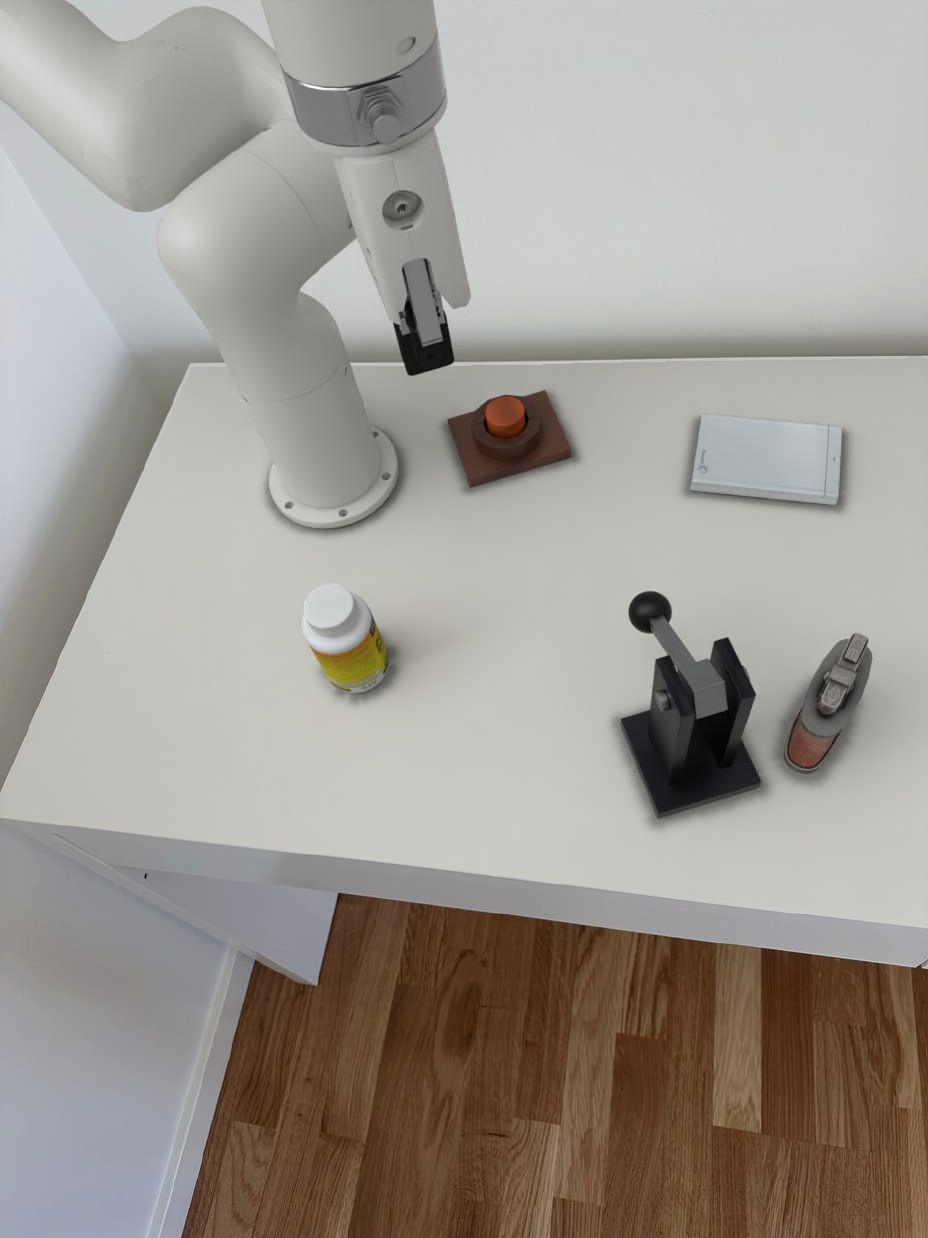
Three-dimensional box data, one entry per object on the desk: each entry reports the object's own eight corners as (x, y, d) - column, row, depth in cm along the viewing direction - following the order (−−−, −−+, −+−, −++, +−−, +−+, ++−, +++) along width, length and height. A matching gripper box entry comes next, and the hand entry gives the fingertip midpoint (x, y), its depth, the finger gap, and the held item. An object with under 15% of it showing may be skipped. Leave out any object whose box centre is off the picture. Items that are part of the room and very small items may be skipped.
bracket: (620, 725, 72) (623, 642, 60) (716, 695, 72) (738, 607, 61) (657, 819, 68) (668, 750, 56) (759, 788, 68) (792, 712, 56)
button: (493, 442, 85) (491, 430, 83) (482, 415, 87) (480, 402, 85) (530, 431, 85) (529, 419, 83) (519, 404, 87) (517, 391, 85)
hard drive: (691, 481, 81) (839, 495, 78) (701, 411, 85) (843, 422, 82) (689, 492, 82) (835, 507, 80) (699, 423, 86) (839, 435, 83)
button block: (469, 487, 86) (465, 467, 83) (448, 427, 90) (444, 405, 87) (571, 457, 86) (570, 436, 84) (545, 398, 90) (544, 376, 88)
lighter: (817, 782, 68) (848, 729, 59) (773, 761, 69) (797, 706, 61) (857, 695, 71) (892, 633, 62) (814, 677, 72) (843, 613, 63)
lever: (625, 624, 71) (619, 590, 69) (665, 613, 71) (660, 578, 69) (689, 726, 60) (684, 688, 58) (736, 712, 60) (732, 674, 58)
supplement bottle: (401, 677, 77) (375, 616, 68) (341, 707, 76) (307, 649, 67) (375, 627, 80) (347, 562, 71) (317, 655, 79) (282, 593, 70)
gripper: (482, 145, 40) (516, 427, 56) (406, -13, 48) (454, 274, 64) (318, 193, 40) (399, 462, 56) (268, 26, 48) (351, 304, 64)
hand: (428, 361), depth 60 cm, fingers closed
